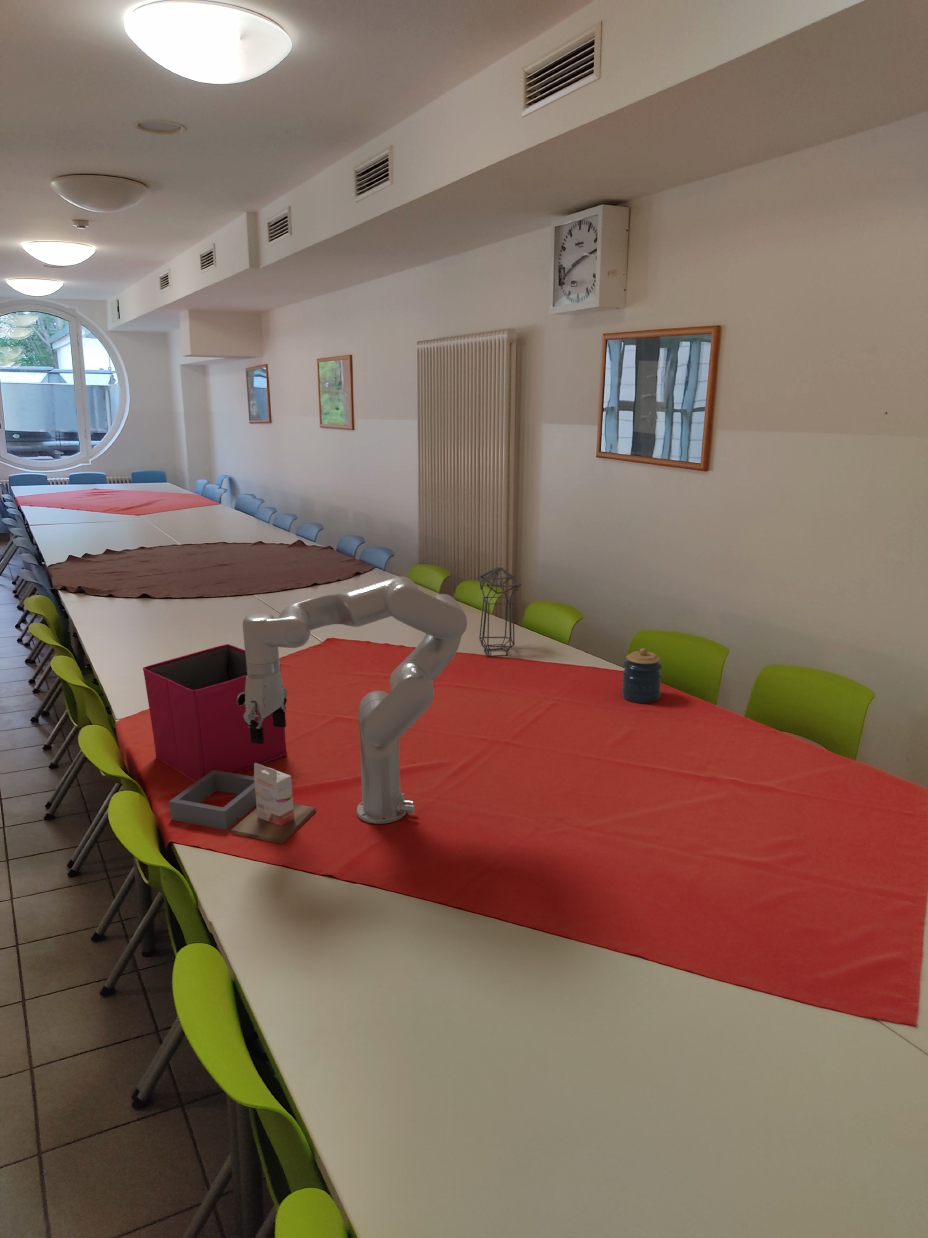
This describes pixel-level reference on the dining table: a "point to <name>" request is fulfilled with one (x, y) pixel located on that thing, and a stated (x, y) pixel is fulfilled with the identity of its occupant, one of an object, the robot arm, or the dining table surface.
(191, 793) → the gray rectangular frame
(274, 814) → the ink cartridge box
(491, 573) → the geometric lantern
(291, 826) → the walnut mat
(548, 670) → the dining table surface
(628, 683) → the canister
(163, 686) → the storage bin
